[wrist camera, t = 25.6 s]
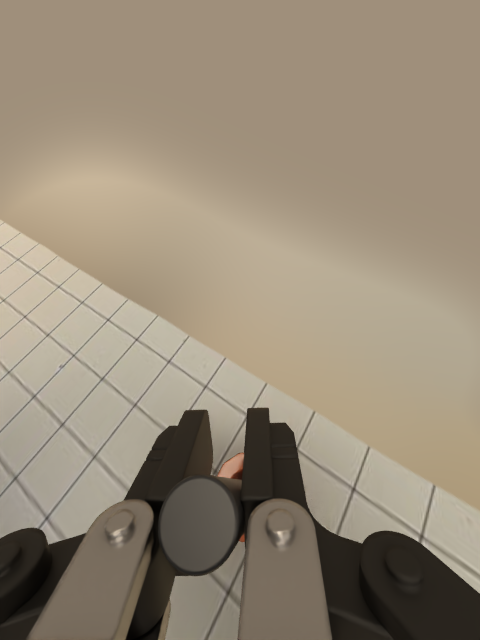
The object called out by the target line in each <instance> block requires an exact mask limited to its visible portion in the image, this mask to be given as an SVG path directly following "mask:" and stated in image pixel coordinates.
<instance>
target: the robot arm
mask: <svg viewBox="0 0 480 640" xmlns="http://www.w3.org/2000/svg"><path fill="white" fill-rule="evenodd" d="M212 463H213V447H212V439H211V431H210V422H209V415H208V411H207V410H186V411H185V412H184V414H183V416H182V418H181V420H180V422H179V424H178V426H169V427H168V428H167V429H166V430H165V431H163V432H162V433H161V434H160V435H159V436H158V438H157V439H156V441H155V443H154V445H153V447H152V451H150V452H149V454H148V456H147V458H146V461H145V462H144V464H143V465H142V467H141V469H140V471H139V473H138V475H137V477H136V478H135V480H134V482H133V484H132V486H131V488H130V490H129V491H128V493H127V495H126V497H125V499H124V501H122V502H119V503H117V504H115V505H113V506H111V507H110V508H108V509H107V510H105V511H104V512H103V513H102V514H100V515H99V516H98V517H97V518H96V520H95V521H94V522H93V523H92V525H91V526H90V528H89V530H88V532H87V533H85V534H82V535H79V536H76V537H72V538H69V539H66V540H63V541H59V542H56V543H53V544H49V545H48V542H47V539H46V536H45V534H44V532H43V531H42V530H40V529H37V528H26V529H21V530H18V531H15V532H13V533H10V534H8V535H6V536H4V537H2V538H1V539H0V640H165V636H166V632H167V627H168V622H169V618H170V611H171V603H170V594H171V590H172V586H173V582H174V578H175V576H189V575H186V574H183V573H181V572H179V571H178V570H176V569H175V568H174V567H173V566H172V565H171V564H170V563H169V562H168V560H167V559H166V557H165V555H164V554H163V551H162V549H161V546H160V542H159V536H158V521H159V515H160V511H161V508H162V505H163V503H164V501H165V499H166V497H167V495H168V494H169V492H170V491H171V490H172V489H173V487H174V486H175V485H176V484H178V483H179V482H180V481H182V480H183V479H185V478H187V477H190V476H193V475H198V474H206V475H210V474H211V470H212ZM241 503H242V506H243V510H244V515H245V525H244V539H245V560H244V572H243V583H242V595H241V607H240V618H239V630H238V640H480V594H479V593H478V592H477V591H476V590H475V589H473V588H472V587H471V586H470V585H469V584H468V583H466V582H465V581H464V580H463V579H462V578H461V577H459V576H458V575H457V574H456V573H455V572H454V571H452V570H451V569H450V568H449V567H448V566H447V565H445V564H444V563H443V562H442V561H441V560H440V559H438V558H437V557H436V556H435V555H434V554H433V553H431V552H430V551H429V550H428V549H427V548H425V547H424V546H423V545H422V544H420V543H419V542H417V541H416V540H414V539H412V538H410V537H408V536H406V535H404V534H401V533H398V532H393V531H379V532H375V533H373V534H371V535H369V536H368V537H367V538H366V539H365V540H364V542H363V544H362V543H359V542H356V541H353V540H349V539H346V538H343V537H341V536H338V535H336V534H333V533H332V532H330V531H328V530H327V529H325V528H324V527H323V526H321V525H320V524H319V523H318V522H317V521H316V520H315V518H314V517H313V516H312V514H311V512H310V510H309V508H308V505H307V502H306V496H305V491H304V485H303V480H302V474H301V469H300V464H299V458H298V453H297V448H296V442H295V436H294V432H293V431H292V430H291V429H290V428H289V426H288V425H287V424H286V423H270V421H269V408H248V409H247V421H246V434H245V447H244V460H243V472H242V485H241Z"/></svg>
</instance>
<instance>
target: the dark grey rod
mask: <svg viewBox="0 0 480 640" xmlns="http://www.w3.org/2000/svg"><path fill="white" fill-rule="evenodd" d="M241 485H242V480H238V479H231V478H225V477H219V476H212V475H206V474H198V475H193V476H190V477H187V478H185V479H183V480H182V481H180V482H179V483H178V484H176V485H175V486H174V487H173V489H172V490H171V491H170V492H169V494H168V495H167V497H166V499H165V501H164V503H163V505H162V508H161V511H160V515H159V521H158V536H159V542H160V546H161V549H162V551H163V554H164V555H165V557H166V559H167V560H168V562H169V563H170V564H171V565H172V566H173V567H174V568H175V569H176V570H178V571H179V572H181V573H183V574H186V575H189V576H202V575H206V574H209V573H211V572H213V571H215V570H216V569H218V568H219V567H220V566H221V565H222V564H223V563H224V562H225V561H226V560H227V559H228V557H229V556H230V554H231V553H232V551H233V550H234V548H235V546H236V545H237V543H238V542H239V540H240V539H241V537H242V535H243V534H244V525H245V515H244V510H243V506H242V503H241Z"/></svg>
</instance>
